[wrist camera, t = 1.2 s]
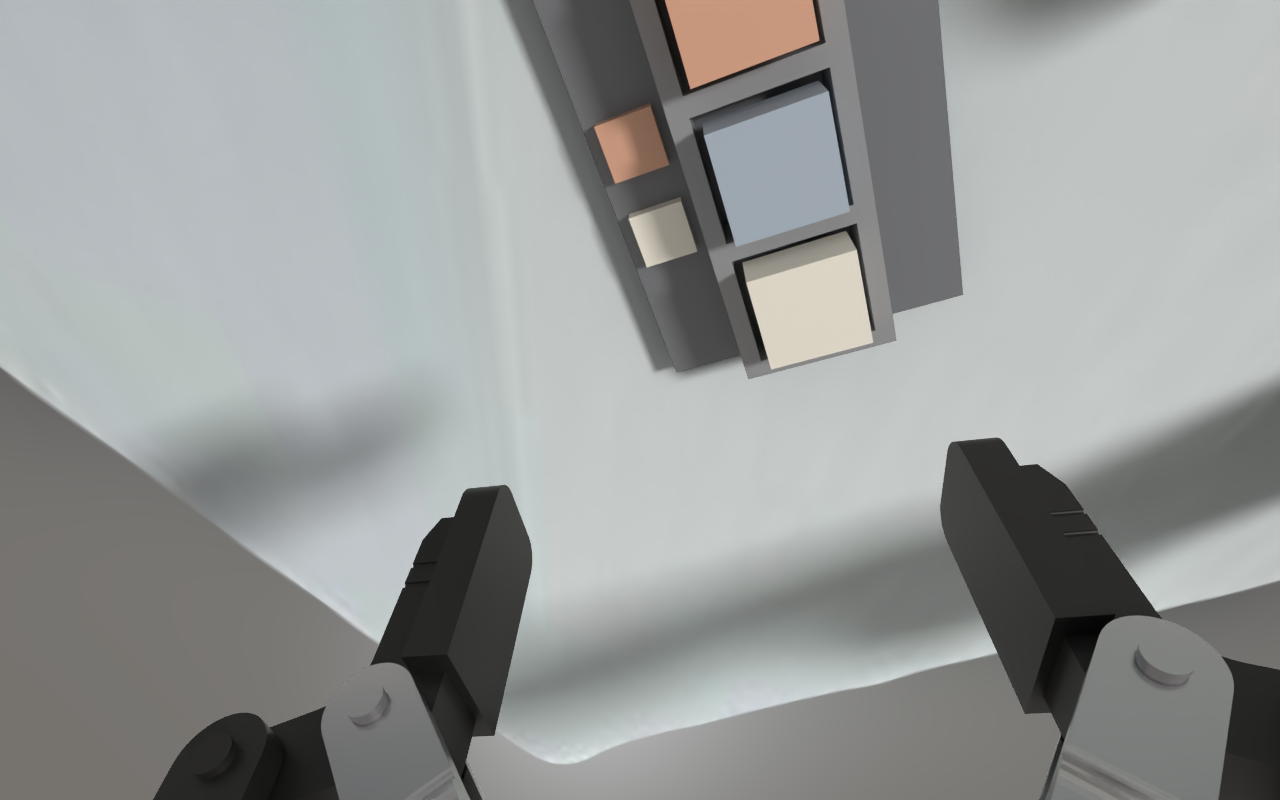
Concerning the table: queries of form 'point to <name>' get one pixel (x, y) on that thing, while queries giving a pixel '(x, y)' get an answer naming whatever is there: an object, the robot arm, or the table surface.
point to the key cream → (809, 300)
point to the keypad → (685, 179)
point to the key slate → (778, 163)
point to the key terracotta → (737, 33)
